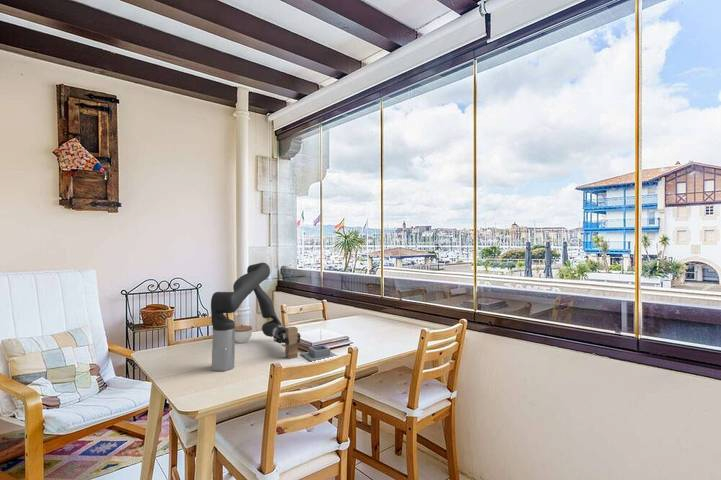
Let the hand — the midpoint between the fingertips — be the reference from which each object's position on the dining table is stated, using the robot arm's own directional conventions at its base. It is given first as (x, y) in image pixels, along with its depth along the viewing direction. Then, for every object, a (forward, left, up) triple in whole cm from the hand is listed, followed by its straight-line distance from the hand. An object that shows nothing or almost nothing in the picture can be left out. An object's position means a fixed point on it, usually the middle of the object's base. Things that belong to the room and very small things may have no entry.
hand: (293, 341), depth 185 cm
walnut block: (+2, +2, -8) cm, 8 cm away
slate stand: (+5, -11, -8) cm, 15 cm away
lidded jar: (+25, +37, -8) cm, 45 cm away
